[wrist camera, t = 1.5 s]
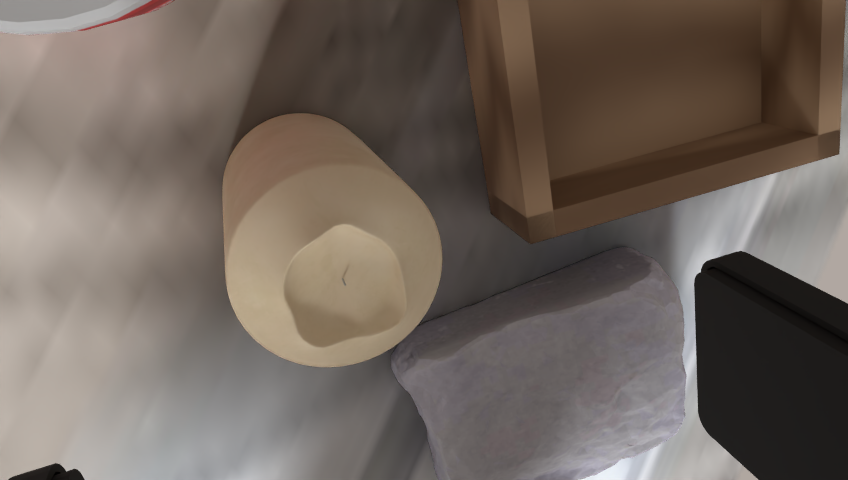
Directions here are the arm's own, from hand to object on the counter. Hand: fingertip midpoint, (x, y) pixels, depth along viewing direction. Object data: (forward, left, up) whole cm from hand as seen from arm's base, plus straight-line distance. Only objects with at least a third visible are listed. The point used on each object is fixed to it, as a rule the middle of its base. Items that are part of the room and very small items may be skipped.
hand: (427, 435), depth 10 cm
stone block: (-12, -8, -17) cm, 22 cm away
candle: (0, 0, -17) cm, 17 cm away
